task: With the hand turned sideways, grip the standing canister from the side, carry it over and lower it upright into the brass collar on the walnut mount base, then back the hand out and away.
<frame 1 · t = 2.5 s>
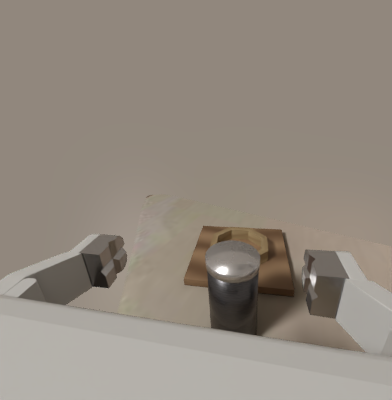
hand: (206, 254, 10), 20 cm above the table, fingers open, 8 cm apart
mount: (238, 256, 41), on the table
canister: (233, 326, 29), on the table
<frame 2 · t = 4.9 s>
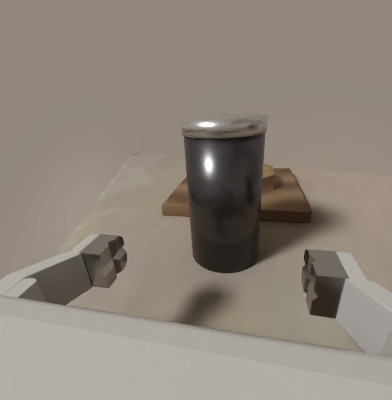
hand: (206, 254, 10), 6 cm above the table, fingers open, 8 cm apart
mount: (236, 192, 32), on the table
canister: (224, 250, 20), on the table
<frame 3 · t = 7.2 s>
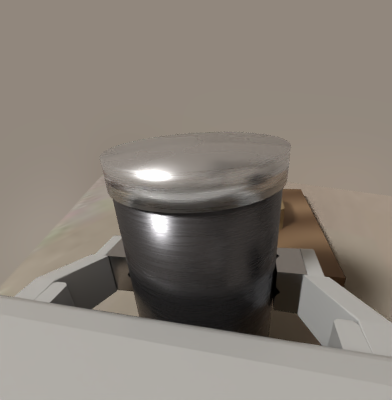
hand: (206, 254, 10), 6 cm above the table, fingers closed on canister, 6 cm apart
mount: (231, 225, 24), on the table
canister: (208, 360, 12), on the table, touching gripper
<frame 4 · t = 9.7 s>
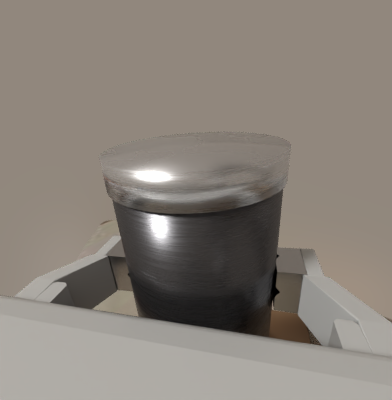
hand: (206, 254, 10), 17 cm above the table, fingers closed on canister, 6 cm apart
mount: (220, 387, 20), on the table
canister: (208, 361, 12), point 11 cm above the table, touching gripper
when the fingers open (8 cm above the table, at t = 12.6 s): canister drops 1 cm, resting on mount.
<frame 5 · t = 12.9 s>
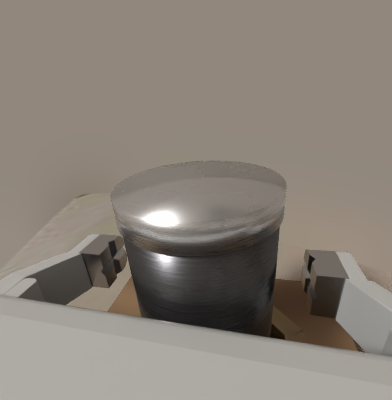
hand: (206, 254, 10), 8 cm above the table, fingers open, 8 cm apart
mount: (210, 389, 13), on the table
canister: (211, 376, 12), point 1 cm above the table, touching mount
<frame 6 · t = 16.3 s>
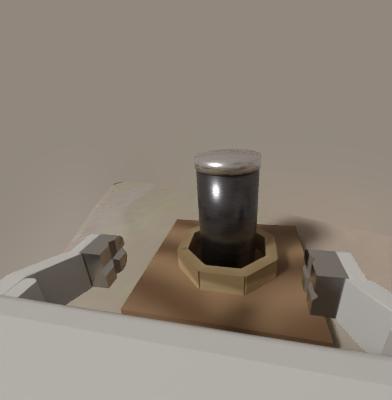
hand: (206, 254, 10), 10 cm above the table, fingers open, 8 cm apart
mount: (227, 267, 25), on the table
canister: (227, 258, 24), point 1 cm above the table, touching mount
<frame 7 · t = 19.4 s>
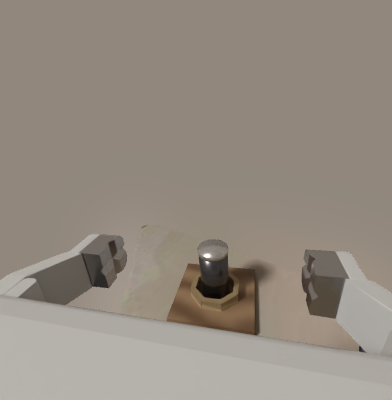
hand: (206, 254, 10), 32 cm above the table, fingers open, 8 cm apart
mount: (215, 295, 49), on the table
canister: (215, 291, 48), point 1 cm above the table, touching mount
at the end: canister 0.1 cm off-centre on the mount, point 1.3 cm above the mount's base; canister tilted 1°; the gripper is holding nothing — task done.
